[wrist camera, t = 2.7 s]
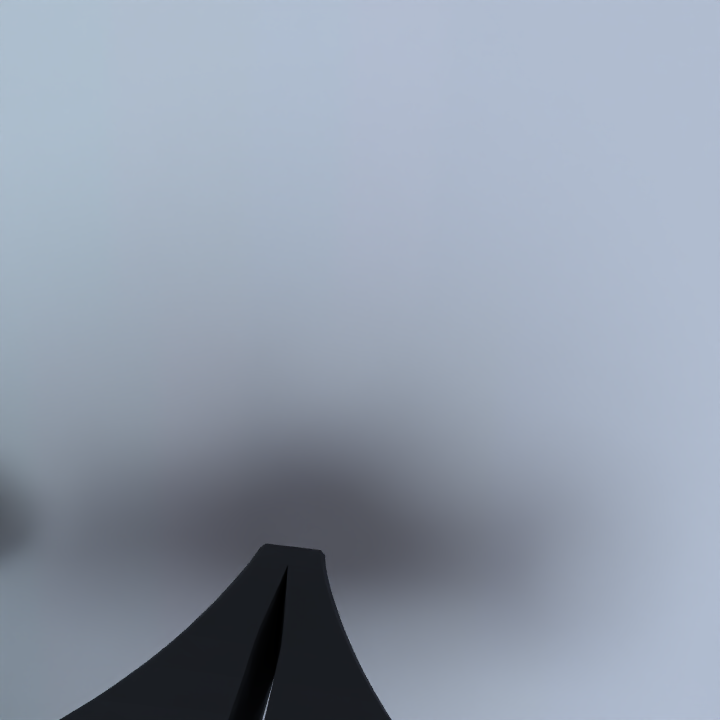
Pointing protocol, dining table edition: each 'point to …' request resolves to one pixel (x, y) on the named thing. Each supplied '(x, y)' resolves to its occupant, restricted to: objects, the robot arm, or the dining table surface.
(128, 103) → the dining table surface
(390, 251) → the dining table surface
